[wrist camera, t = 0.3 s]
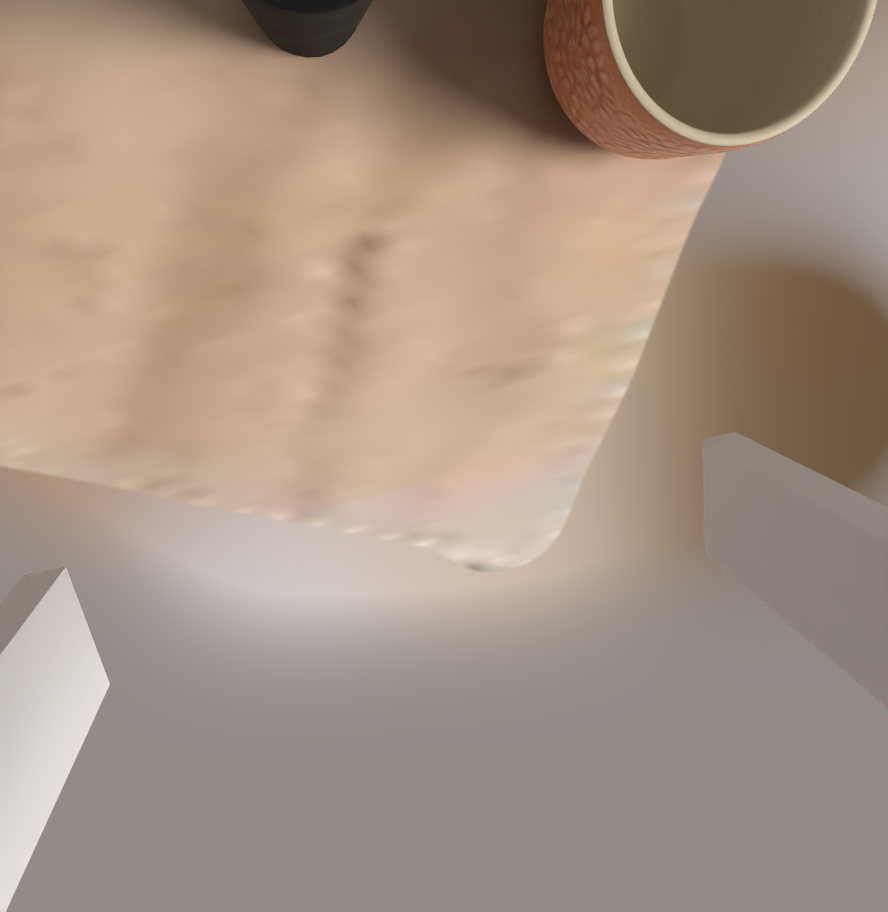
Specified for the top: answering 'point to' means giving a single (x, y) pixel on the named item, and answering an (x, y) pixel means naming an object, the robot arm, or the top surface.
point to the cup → (308, 23)
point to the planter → (697, 68)
